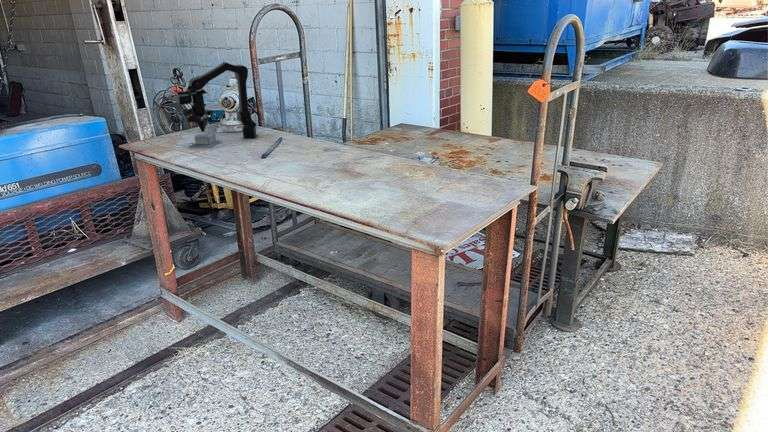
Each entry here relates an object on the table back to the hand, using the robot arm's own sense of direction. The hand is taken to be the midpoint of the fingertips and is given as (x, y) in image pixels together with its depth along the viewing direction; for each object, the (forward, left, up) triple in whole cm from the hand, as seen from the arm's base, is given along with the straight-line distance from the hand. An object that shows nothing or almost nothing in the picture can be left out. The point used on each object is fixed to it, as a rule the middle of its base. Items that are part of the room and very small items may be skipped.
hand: (203, 131), depth 296 cm
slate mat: (0, 0, -7) cm, 7 cm away
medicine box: (0, -7, -4) cm, 8 cm away
